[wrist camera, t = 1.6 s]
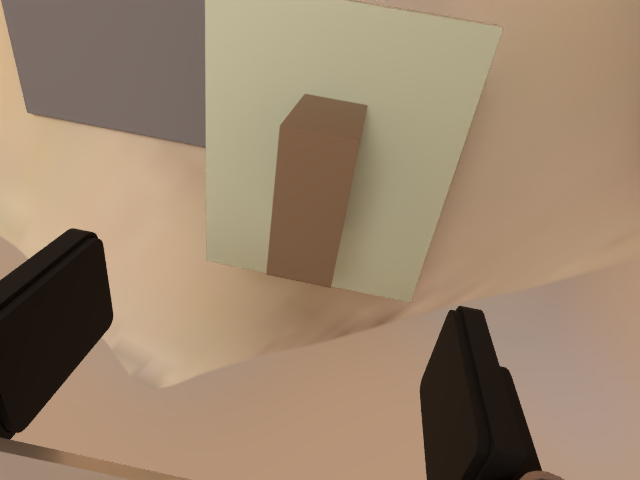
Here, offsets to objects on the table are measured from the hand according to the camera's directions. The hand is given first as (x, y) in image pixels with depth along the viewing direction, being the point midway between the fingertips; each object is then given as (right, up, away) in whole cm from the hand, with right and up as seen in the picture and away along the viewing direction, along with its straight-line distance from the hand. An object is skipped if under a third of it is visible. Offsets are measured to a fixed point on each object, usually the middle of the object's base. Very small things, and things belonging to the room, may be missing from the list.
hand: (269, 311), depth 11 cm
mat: (-11, +15, +12) cm, 22 cm away
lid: (+2, +6, +8) cm, 10 cm away
